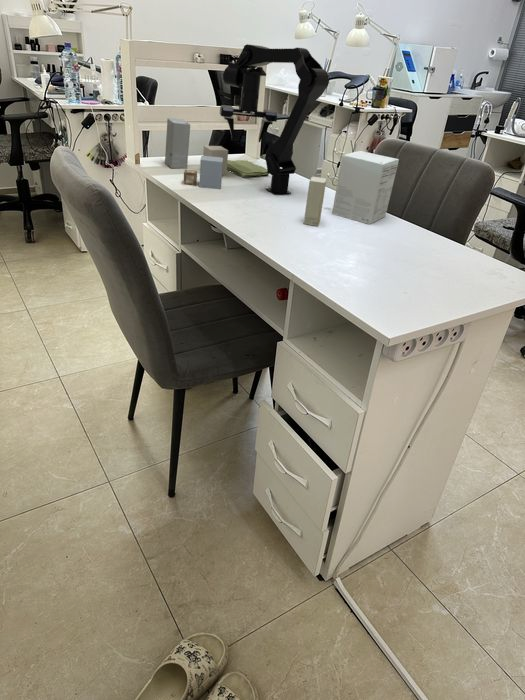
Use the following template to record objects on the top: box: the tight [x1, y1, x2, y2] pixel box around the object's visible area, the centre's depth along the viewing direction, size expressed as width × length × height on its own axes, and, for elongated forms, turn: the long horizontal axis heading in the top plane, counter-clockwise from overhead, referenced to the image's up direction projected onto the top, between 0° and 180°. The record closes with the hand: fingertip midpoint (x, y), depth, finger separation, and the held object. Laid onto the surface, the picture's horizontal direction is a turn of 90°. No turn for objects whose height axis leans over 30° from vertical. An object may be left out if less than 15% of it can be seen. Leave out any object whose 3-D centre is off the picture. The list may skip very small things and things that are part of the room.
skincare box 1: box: [164, 117, 191, 170], centre depth 179 cm, size 8×7×16 cm
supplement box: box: [331, 150, 400, 225], centre depth 150 cm, size 13×13×18 cm
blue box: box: [199, 155, 223, 190], centre depth 163 cm, size 7×7×9 cm
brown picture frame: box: [183, 169, 198, 187], centre depth 164 cm, size 4×4×4 cm
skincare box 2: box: [303, 176, 327, 227], centre depth 140 cm, size 6×4×12 cm
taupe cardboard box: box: [202, 145, 229, 176], centre depth 179 cm, size 7×7×9 cm
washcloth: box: [227, 159, 270, 178], centre depth 187 cm, size 13×18×3 cm
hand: (246, 140), depth 169 cm, fingers open, 9 cm apart
